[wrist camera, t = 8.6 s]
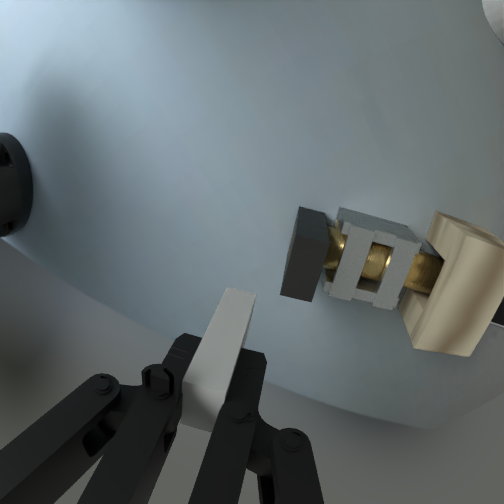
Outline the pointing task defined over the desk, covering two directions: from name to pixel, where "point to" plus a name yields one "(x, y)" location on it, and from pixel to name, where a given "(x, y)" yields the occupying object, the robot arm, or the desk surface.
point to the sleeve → (355, 253)
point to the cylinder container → (495, 16)
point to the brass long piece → (328, 254)
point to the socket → (457, 289)
